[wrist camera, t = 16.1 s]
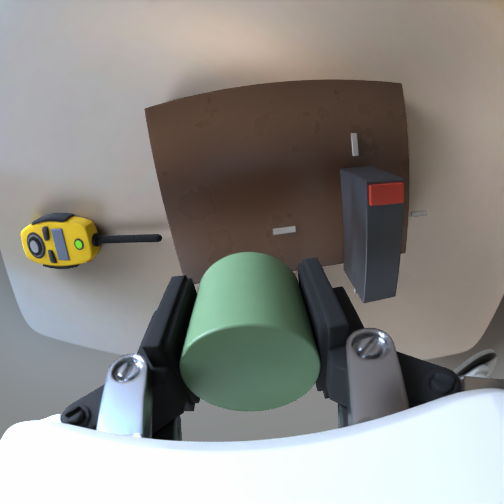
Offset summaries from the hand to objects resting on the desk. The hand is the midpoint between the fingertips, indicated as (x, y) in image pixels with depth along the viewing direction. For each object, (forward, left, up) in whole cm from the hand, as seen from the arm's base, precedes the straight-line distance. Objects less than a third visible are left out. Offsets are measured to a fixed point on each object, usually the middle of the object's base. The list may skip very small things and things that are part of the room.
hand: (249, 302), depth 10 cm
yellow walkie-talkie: (+1, +14, -10) cm, 17 cm away
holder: (0, -7, -7) cm, 10 cm away
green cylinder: (0, 0, 0) cm, 0 cm away
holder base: (+2, -4, -10) cm, 11 cm away
